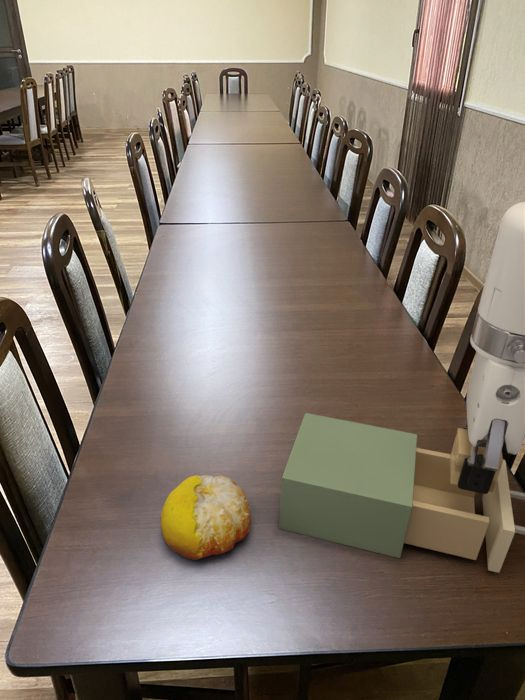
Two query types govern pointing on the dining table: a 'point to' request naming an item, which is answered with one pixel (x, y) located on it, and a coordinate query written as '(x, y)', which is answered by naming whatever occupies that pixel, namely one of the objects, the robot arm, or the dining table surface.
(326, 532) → the cabinet
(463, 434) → the block
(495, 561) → the drawer
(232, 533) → the fruit
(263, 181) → the dining table surface
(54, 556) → the dining table surface
